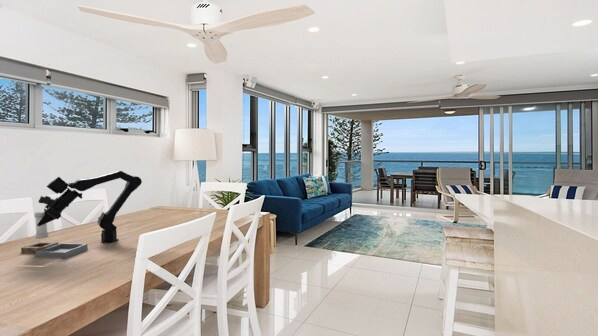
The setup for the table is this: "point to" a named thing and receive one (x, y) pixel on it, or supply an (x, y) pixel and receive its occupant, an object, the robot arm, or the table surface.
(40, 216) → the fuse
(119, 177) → the robot arm
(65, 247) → the parts tray
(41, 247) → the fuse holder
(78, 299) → the table surface
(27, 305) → the table surface
